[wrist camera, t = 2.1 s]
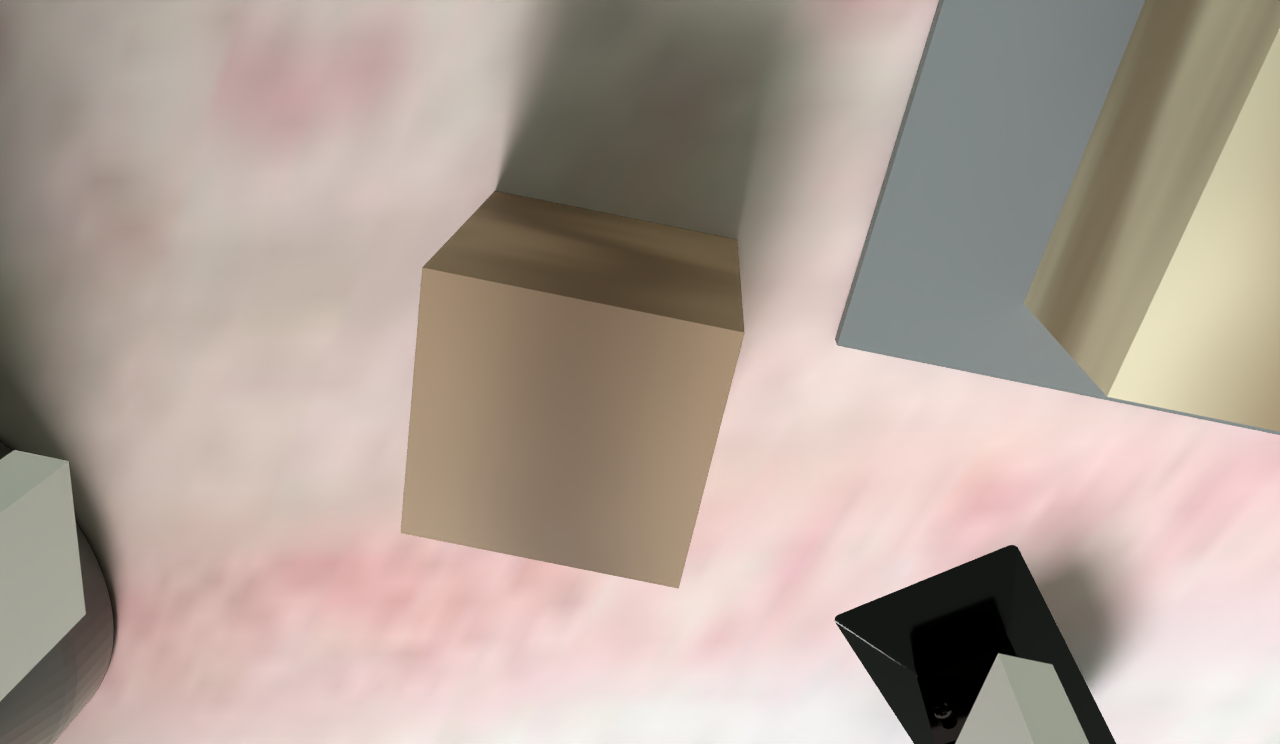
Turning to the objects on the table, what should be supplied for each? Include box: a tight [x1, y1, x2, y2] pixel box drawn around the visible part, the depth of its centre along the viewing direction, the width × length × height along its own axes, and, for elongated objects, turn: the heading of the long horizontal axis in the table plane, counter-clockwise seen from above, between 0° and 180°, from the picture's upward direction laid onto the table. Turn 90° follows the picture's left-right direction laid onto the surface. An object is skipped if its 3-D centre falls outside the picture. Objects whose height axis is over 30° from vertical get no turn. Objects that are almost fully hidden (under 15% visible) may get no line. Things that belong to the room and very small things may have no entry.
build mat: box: [835, 0, 1280, 435], centre depth 19 cm, size 12×16×1 cm
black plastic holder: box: [835, 545, 1116, 744], centre depth 25 cm, size 12×7×5 cm, turn 31°
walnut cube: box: [401, 191, 744, 588], centre depth 20 cm, size 6×6×6 cm
